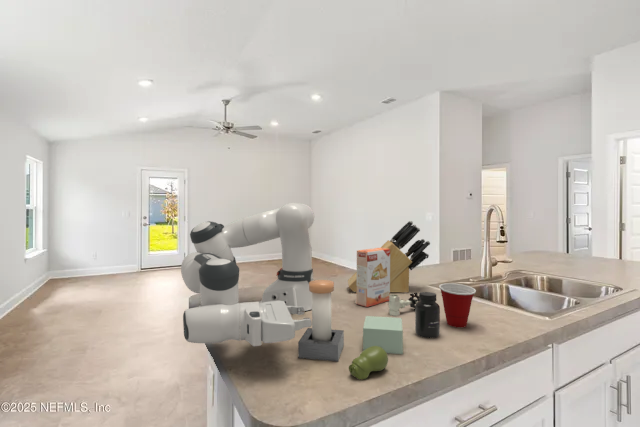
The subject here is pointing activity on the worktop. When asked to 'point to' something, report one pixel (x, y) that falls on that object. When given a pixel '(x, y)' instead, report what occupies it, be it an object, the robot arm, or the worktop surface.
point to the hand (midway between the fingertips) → (307, 315)
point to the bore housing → (321, 346)
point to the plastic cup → (456, 303)
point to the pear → (369, 362)
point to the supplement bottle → (427, 316)
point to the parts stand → (383, 333)
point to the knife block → (401, 258)
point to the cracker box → (373, 276)
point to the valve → (401, 303)
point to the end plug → (321, 309)
